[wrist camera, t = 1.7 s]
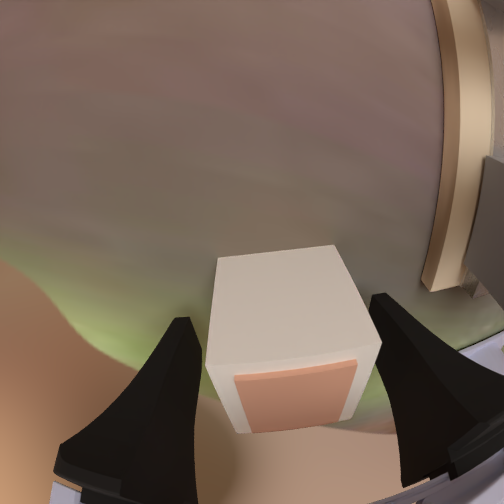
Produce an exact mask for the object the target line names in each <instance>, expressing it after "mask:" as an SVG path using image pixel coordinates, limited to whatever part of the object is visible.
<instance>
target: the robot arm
mask: <svg viewBox="0 0 504 504" xmlns="http://www.w3.org/2000/svg"><path fill="white" fill-rule="evenodd" d="M368 313H369V315H370V317H371V319H372V321H373V323H374V326H375V328H376V330H377V332H378V334H379V337H380V339H381V341H382V344H381V347H380V350H379V353H378V355H377V358H376V361H375V364H376V366H377V369H378V371H379V374H380V376H381V379H382V381H383V384H384V386H385V389H386V391H387V394H388V397H389V400H390V404H391V408H392V412H393V417H394V421H395V426H396V432H397V437H398V445H399V453H400V467H401V483H402V487H403V488H405V487H407V486H410V485H412V484H415V483H417V482H419V481H421V480H424V479H426V478H428V477H429V478H430V481H428V482H426V483H424V484H421V485H419V486H417V487H414V488H412V489H409V490H407V491H404V492H402V493H399V494H396V495H394V496H391V497H388V498H385V499H382V500H379V501H376V502H373V503H369V504H412V503H414V502H416V501H417V502H416V504H504V354H503V352H502V351H501V348H502V346H503V345H504V331H502V332H500V333H498V334H496V335H494V336H492V337H490V338H488V339H486V340H484V341H481V342H479V343H477V344H475V345H472V346H470V347H468V348H465V349H463V350H460V351H456V350H455V349H453V348H452V347H450V346H449V345H448V344H446V343H445V342H443V341H442V340H441V339H440V338H438V337H437V336H436V335H434V334H433V333H432V332H431V331H429V330H428V329H427V328H426V327H424V326H423V325H422V324H421V323H420V322H419V321H417V320H416V319H415V318H414V317H413V316H412V315H411V314H409V313H408V312H407V311H406V310H405V309H404V308H403V307H401V306H400V305H399V304H398V303H397V302H396V301H395V300H394V299H392V298H391V297H390V296H389V295H388V294H387V293H380V294H374V295H372V298H371V302H370V307H369V312H368ZM201 370H202V348H201V346H200V343H199V341H198V338H197V335H196V333H195V330H194V327H193V325H192V322H191V319H190V317H179V318H174V320H173V321H172V323H171V324H170V326H169V327H168V329H167V331H166V332H165V334H164V335H163V337H162V339H161V340H160V342H159V343H158V345H157V346H156V348H155V349H154V351H153V352H152V354H151V355H150V357H149V358H148V360H147V361H146V363H145V364H144V365H143V367H142V368H141V370H140V371H139V372H138V374H137V375H136V377H135V378H134V379H133V380H132V381H131V383H130V384H129V385H128V387H127V388H126V389H125V390H124V391H123V392H122V393H121V394H120V396H119V397H118V398H117V399H116V400H115V401H114V402H113V403H112V404H111V405H110V406H109V407H108V408H107V409H106V410H105V411H104V412H103V413H102V414H101V415H100V416H98V417H97V418H96V419H95V420H94V421H92V422H91V423H90V424H89V425H88V426H87V427H85V428H84V429H83V430H81V431H80V432H79V433H77V434H76V435H74V436H73V437H71V438H70V439H68V440H67V441H65V442H64V443H62V444H60V447H59V451H58V454H57V458H56V462H55V466H54V470H53V472H54V473H55V474H56V475H58V476H59V477H61V478H64V479H66V480H67V481H70V482H72V483H74V484H77V485H79V486H81V487H82V492H80V491H77V490H75V489H72V488H70V487H68V486H65V485H63V484H61V483H59V482H56V481H54V482H53V487H52V492H51V497H50V503H49V504H198V498H197V490H196V481H195V480H196V479H195V462H194V424H195V414H196V406H197V400H198V393H199V386H200V379H201Z"/></svg>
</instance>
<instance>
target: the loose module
mask: <svg viewBox="0 0 504 504" xmlns="http://www.w3.org/2000/svg"><path fill="white" fill-rule="evenodd" d="M381 344H382V341H381V339H380V337H379V334H378V332H377V330H376V328H375V326H374V323H373V321H372V319H371V317H370V315H369V313H368V311H367V309H366V306H365V304H364V302H363V300H362V298H361V296H360V294H359V292H358V290H357V288H356V286H355V284H354V282H353V280H352V278H351V276H350V274H349V272H348V270H347V268H346V266H345V265H344V263H343V261H342V259H341V257H340V255H339V253H338V251H337V249H336V248H335V246H334V245H328V246H319V247H311V248H302V249H293V250H284V251H275V252H267V253H258V254H249V255H240V256H231V257H222V258H218V261H217V269H216V276H215V284H214V292H213V300H212V308H211V317H210V325H209V334H208V343H207V353H206V363H205V366H206V369H207V371H208V373H209V376H210V378H211V380H212V383H213V385H214V387H215V389H216V391H217V394H218V396H219V398H220V400H221V402H222V404H223V407H224V409H225V411H226V413H227V415H228V417H229V419H230V421H231V423H232V425H233V427H234V429H235V431H236V433H237V434H240V433H241V434H242V433H262V432H273V431H283V430H292V429H299V428H306V427H313V426H319V425H324V424H330V423H335V422H339V421H343V420H348V419H351V418H352V416H353V414H354V412H355V410H356V407H357V405H358V403H359V401H360V398H361V396H362V394H363V391H364V389H365V387H366V384H367V382H368V379H369V377H370V374H371V372H372V369H373V366H374V364H375V361H376V358H377V355H378V353H379V350H380V347H381Z"/></svg>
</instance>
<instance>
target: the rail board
mask: <svg viewBox="0 0 504 504" xmlns="http://www.w3.org/2000/svg"><path fill="white" fill-rule="evenodd" d="M431 2H432V6H433V11H434V16H435V20H436V26H437V31H438V38H439V44H440V52H441V60H442V71H443V85H444V145H443V160H442V171H441V180H440V188H439V196H438V202H437V209H436V215H435V220H434V226H433V231H432V236H431V240H430V245H429V249H428V254H427V258H426V262H425V266H424V269H423V273H422V277H421V280H422V282H423V283H424V284H425V286H426V287H427V288H428V290H429V291H430V292H433V291H438V290H442V289H446V288H450V287H454V286H458V285H460V287H461V288H462V287H463V288H464V289H465V290H466V292H467V293H468V294H469V295H470V297H471V298H472V299H473V298H476V297H479V296H482V295H485V294H488V293H490V294H491V295H492V296H493V298H494V299H495V300H496V301H497V303H498V304H499V305H500V306H501V308H502V309H503V310H504V0H431Z"/></svg>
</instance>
